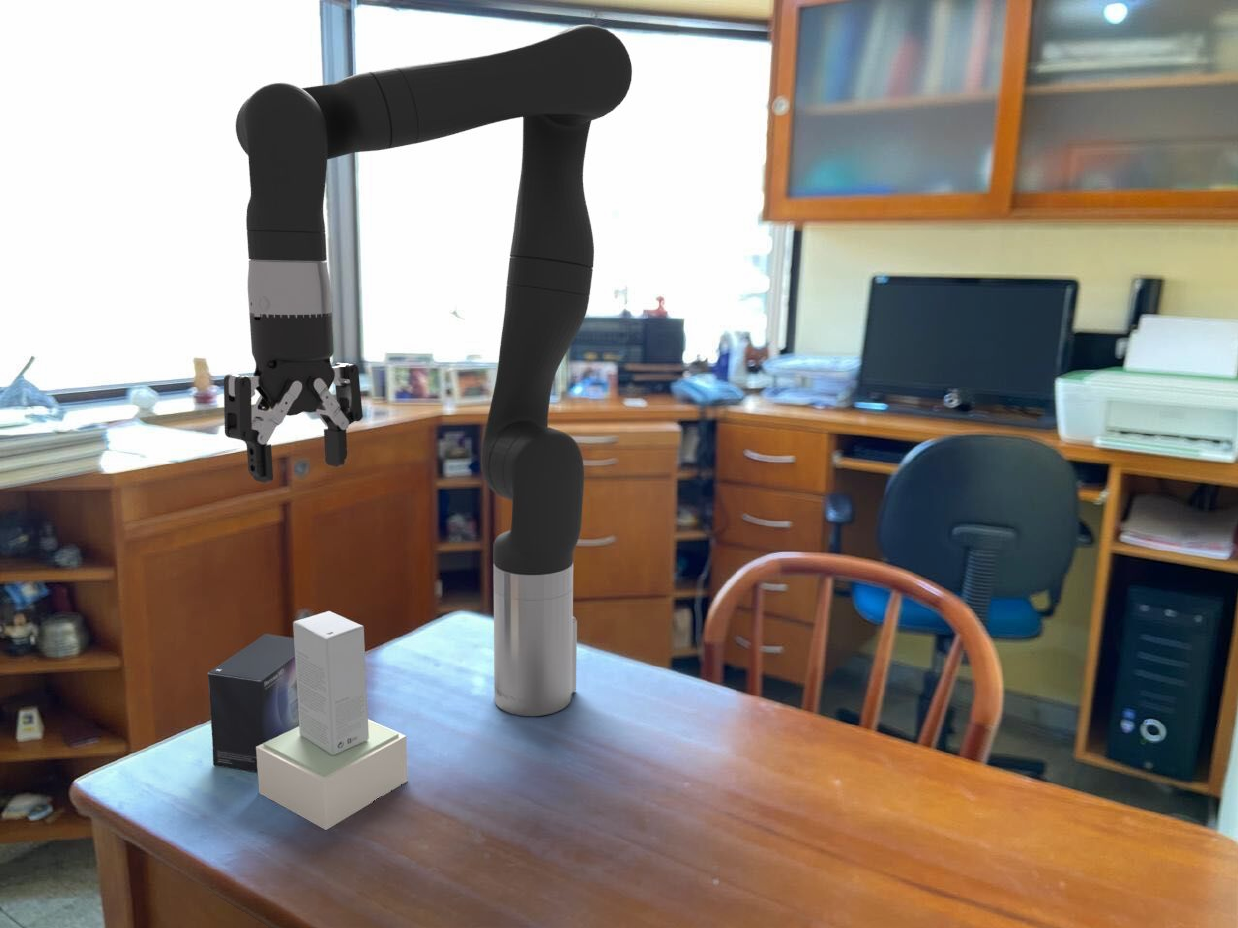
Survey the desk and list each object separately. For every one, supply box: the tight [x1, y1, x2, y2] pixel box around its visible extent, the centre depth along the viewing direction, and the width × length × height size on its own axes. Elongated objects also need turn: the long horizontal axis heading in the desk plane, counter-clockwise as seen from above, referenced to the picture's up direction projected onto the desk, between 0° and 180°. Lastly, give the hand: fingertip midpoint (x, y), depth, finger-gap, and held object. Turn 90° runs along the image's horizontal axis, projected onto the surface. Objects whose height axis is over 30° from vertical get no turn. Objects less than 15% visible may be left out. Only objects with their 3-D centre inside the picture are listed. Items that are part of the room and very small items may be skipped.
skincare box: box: [292, 610, 369, 755], centre depth 89 cm, size 6×4×12 cm
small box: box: [207, 633, 299, 773], centre depth 97 cm, size 11×6×10 cm, turn 168°
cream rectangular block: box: [256, 718, 408, 831], centre depth 90 cm, size 10×10×5 cm
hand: (300, 472), depth 92 cm, fingers open, 8 cm apart
